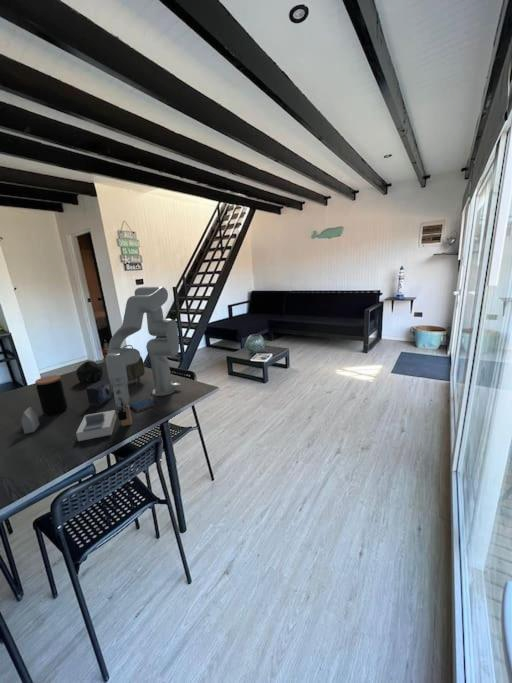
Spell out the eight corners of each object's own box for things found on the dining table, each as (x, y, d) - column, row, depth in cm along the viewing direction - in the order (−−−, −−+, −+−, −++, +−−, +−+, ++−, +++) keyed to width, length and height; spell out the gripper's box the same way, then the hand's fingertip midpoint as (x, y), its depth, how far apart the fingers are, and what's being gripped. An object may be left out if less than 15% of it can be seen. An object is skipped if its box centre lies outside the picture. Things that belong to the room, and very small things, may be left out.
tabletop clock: (139, 378, 191) (133, 341, 185) (148, 381, 186) (142, 343, 180) (118, 386, 180) (111, 347, 174) (127, 389, 175) (119, 349, 168)
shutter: (104, 420, 131) (103, 412, 130) (101, 428, 125) (100, 420, 124) (87, 423, 129) (85, 415, 128) (83, 431, 123) (81, 423, 122)
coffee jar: (72, 407, 155) (65, 375, 150) (53, 417, 145) (44, 384, 140) (58, 405, 158) (50, 374, 154) (38, 415, 149) (29, 382, 144)
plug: (131, 420, 139) (128, 401, 136) (131, 424, 135) (127, 404, 132) (122, 421, 138) (119, 402, 135) (121, 426, 134) (118, 406, 131)
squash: (90, 367, 200) (76, 356, 188) (110, 368, 198) (98, 357, 186) (81, 386, 193) (66, 376, 180) (102, 388, 191) (89, 377, 178)
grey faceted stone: (39, 424, 139) (34, 405, 137) (34, 431, 133) (28, 412, 130) (30, 426, 138) (25, 407, 136) (24, 433, 132) (18, 413, 129)
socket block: (116, 417, 142) (115, 409, 141) (111, 434, 127) (109, 426, 126) (86, 422, 138) (85, 415, 137) (78, 441, 124) (76, 432, 123)
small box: (99, 407, 154) (95, 388, 151) (88, 406, 155) (84, 388, 152) (112, 398, 164) (109, 380, 161) (102, 397, 165) (99, 380, 162)
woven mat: (156, 406, 153) (156, 402, 152) (136, 413, 146) (136, 410, 145) (147, 400, 160) (147, 396, 160) (128, 407, 153) (127, 403, 152)
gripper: (125, 385, 123) (131, 422, 127) (129, 372, 139) (134, 405, 143) (106, 388, 121) (112, 425, 125) (112, 375, 137) (118, 408, 141)
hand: (124, 414), depth 134 cm, fingers open, 9 cm apart
